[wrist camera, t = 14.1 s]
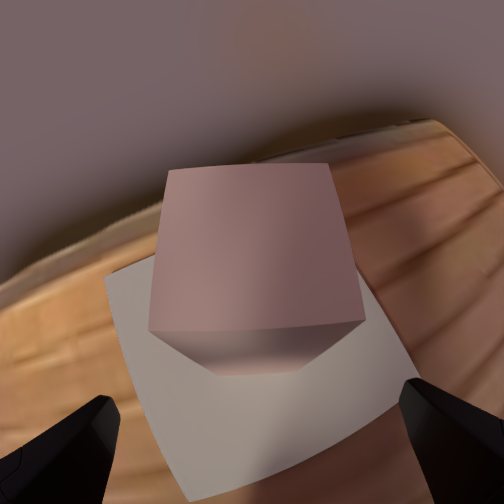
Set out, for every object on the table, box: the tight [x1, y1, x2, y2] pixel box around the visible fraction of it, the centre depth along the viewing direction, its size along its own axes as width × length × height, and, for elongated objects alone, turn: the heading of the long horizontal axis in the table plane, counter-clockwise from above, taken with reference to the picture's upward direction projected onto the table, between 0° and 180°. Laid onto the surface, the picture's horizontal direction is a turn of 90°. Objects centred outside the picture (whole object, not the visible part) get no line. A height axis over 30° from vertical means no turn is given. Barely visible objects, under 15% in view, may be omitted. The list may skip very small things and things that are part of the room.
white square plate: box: [104, 255, 421, 502], centre depth 19 cm, size 18×18×1 cm
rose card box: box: [148, 163, 366, 376], centre depth 13 cm, size 5×5×12 cm
